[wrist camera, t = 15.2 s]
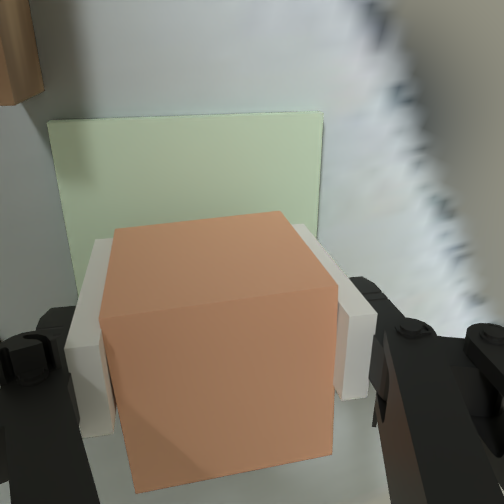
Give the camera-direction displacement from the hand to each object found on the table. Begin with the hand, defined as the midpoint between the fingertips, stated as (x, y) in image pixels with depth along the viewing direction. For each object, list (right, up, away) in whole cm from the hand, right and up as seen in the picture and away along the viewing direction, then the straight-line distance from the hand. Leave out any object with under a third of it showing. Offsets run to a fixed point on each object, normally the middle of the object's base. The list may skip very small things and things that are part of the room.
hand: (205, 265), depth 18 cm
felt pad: (-1, +1, +2) cm, 2 cm away
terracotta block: (0, -1, +1) cm, 1 cm away
